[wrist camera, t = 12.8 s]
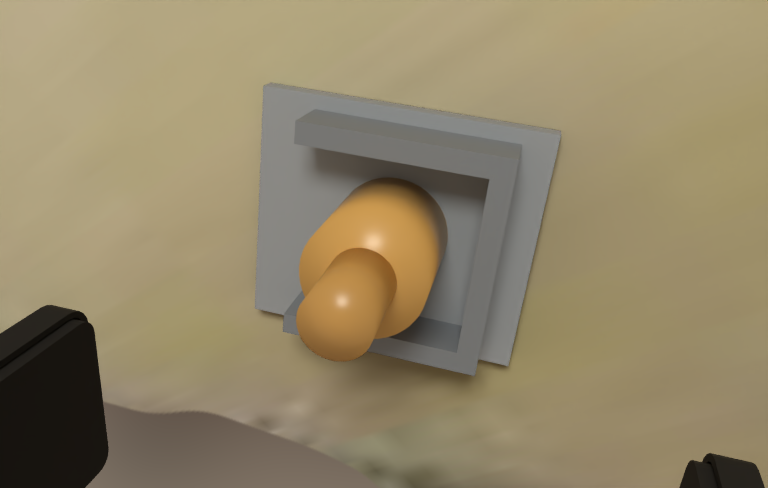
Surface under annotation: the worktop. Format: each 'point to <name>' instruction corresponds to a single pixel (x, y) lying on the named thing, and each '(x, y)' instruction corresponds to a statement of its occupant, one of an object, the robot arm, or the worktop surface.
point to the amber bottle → (369, 267)
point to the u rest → (436, 176)
